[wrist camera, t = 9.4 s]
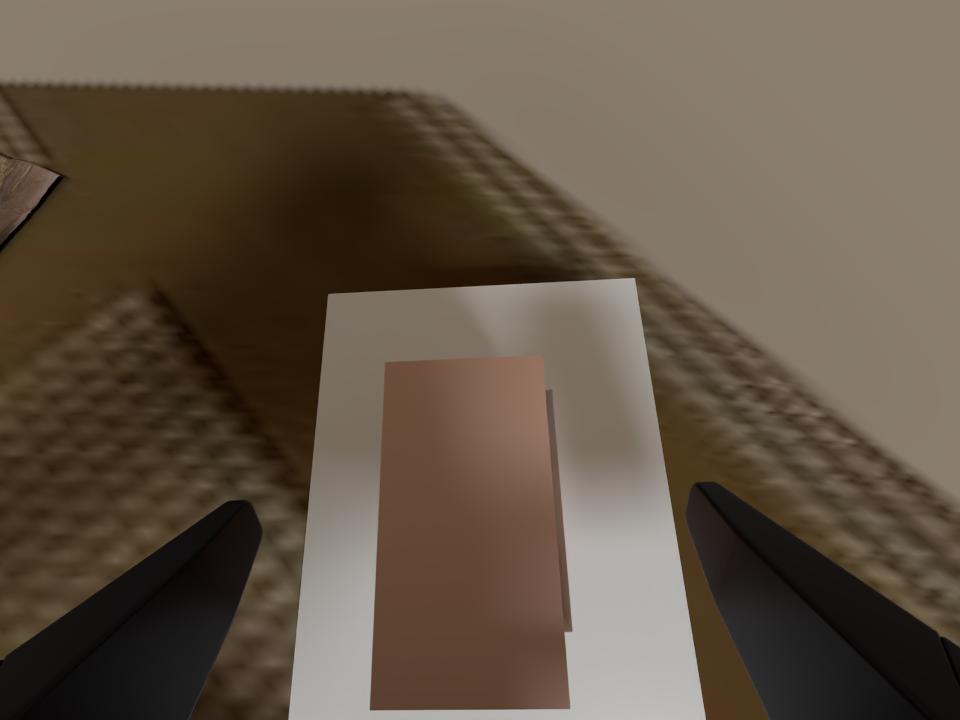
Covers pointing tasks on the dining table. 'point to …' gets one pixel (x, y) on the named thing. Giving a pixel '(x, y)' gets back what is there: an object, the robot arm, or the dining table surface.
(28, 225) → the dining table surface
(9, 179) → the wooden fragment
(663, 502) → the white slotted block
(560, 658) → the pink rectangular block
